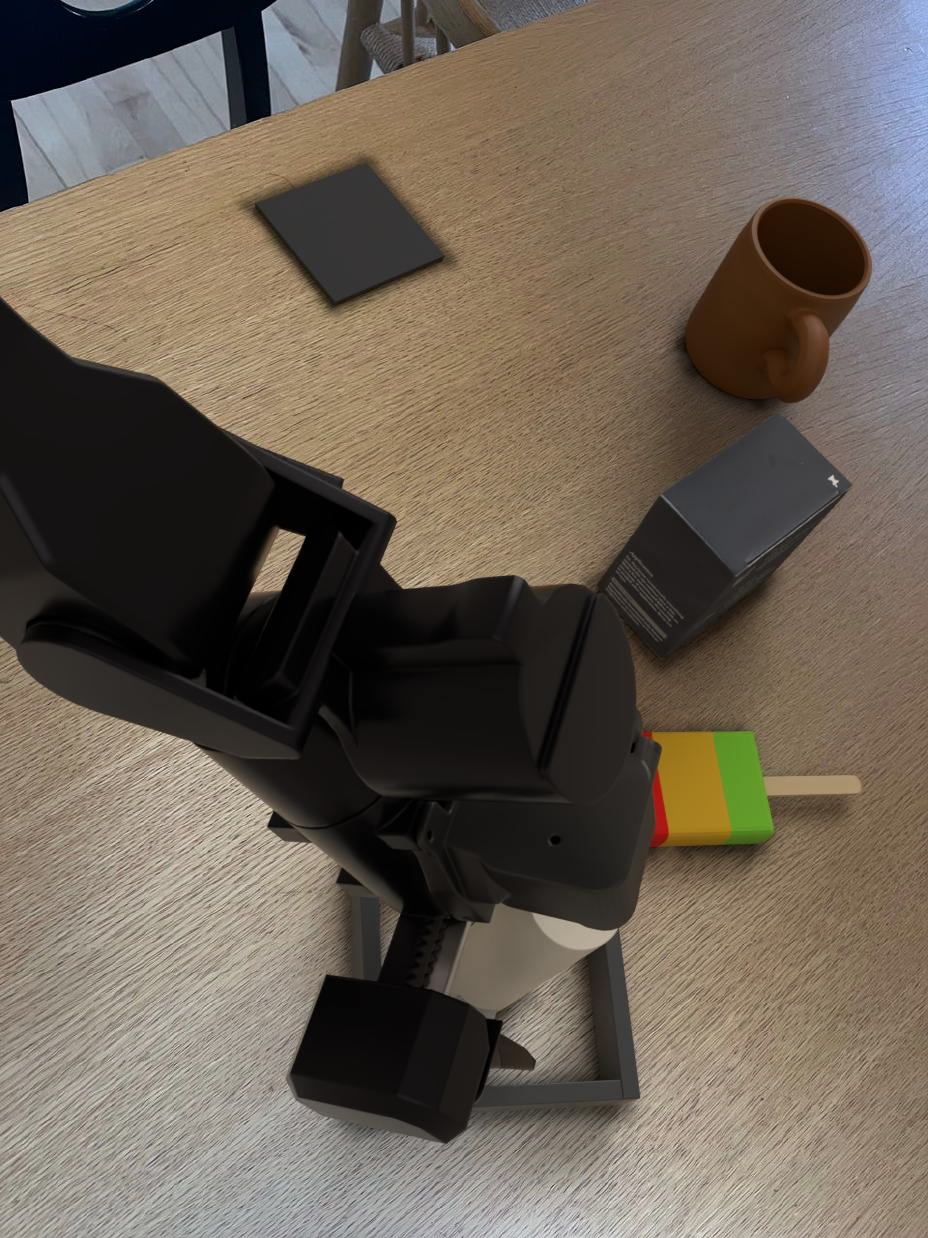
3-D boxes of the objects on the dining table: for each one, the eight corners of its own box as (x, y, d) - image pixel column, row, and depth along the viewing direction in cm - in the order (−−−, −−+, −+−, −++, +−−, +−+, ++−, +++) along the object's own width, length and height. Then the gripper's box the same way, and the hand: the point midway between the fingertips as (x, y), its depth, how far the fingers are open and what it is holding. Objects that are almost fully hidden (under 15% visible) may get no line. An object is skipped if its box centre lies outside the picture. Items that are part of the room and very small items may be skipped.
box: (703, 505, 71) (781, 405, 63) (771, 577, 70) (859, 486, 62) (590, 585, 67) (658, 490, 58) (660, 664, 66) (740, 578, 57)
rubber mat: (334, 305, 71) (334, 301, 71) (254, 206, 73) (255, 202, 72) (443, 258, 74) (444, 255, 74) (365, 165, 76) (366, 161, 76)
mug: (806, 475, 74) (892, 378, 66) (685, 452, 72) (758, 350, 64) (790, 317, 79) (868, 210, 71) (677, 293, 78) (744, 180, 70)
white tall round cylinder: (496, 1065, 54) (599, 1012, 43) (419, 1035, 54) (502, 975, 43) (539, 914, 58) (644, 829, 47) (467, 885, 58) (555, 793, 46)
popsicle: (569, 743, 62) (582, 728, 61) (837, 740, 66) (856, 727, 65) (585, 852, 60) (599, 840, 58) (862, 843, 64) (882, 832, 62)
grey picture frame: (357, 1119, 52) (368, 1113, 50) (348, 845, 57) (357, 829, 55) (620, 1105, 55) (641, 1098, 53) (589, 845, 60) (607, 830, 58)
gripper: (465, 1082, 31) (696, 1246, 41) (639, 497, 40) (791, 749, 50) (152, 1022, 37) (420, 1177, 47) (365, 528, 46) (550, 747, 57)
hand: (556, 950), depth 50 cm, fingers open, 9 cm apart
